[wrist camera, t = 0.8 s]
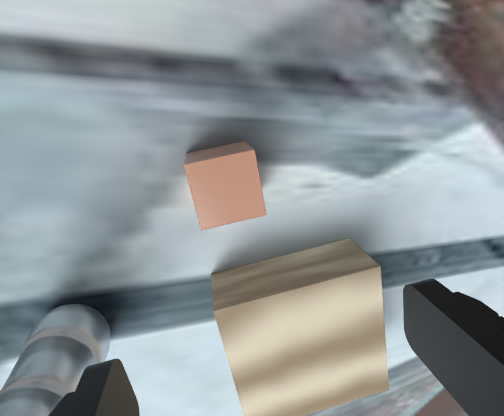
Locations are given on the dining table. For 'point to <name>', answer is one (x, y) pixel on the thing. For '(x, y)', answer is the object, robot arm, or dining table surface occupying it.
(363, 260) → the beige square slab
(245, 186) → the terracotta block
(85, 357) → the plastic bottle
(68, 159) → the dining table surface
